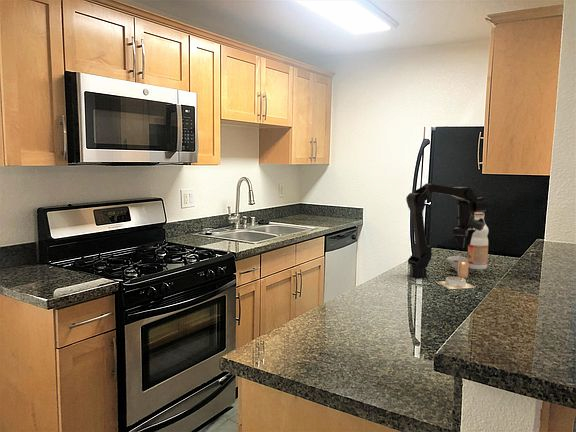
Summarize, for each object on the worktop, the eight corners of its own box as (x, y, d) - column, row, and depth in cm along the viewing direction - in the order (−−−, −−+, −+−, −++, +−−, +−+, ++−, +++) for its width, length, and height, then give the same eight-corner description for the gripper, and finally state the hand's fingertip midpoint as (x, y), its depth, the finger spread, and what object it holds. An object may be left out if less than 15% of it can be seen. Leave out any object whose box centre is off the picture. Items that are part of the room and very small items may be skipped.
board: (449, 291, 191) (449, 289, 191) (435, 283, 203) (435, 281, 203) (476, 290, 193) (476, 287, 193) (461, 282, 205) (461, 280, 205)
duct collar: (451, 287, 194) (451, 281, 193) (442, 282, 201) (443, 277, 201) (468, 286, 195) (468, 280, 194) (459, 281, 202) (459, 276, 202)
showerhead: (469, 255, 229) (466, 258, 220) (468, 269, 230) (466, 273, 221) (449, 253, 234) (446, 257, 225) (448, 267, 234) (445, 271, 226)
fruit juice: (481, 270, 227) (483, 214, 224) (463, 267, 234) (465, 212, 231) (490, 267, 233) (493, 212, 230) (473, 264, 240) (475, 211, 237)
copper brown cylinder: (460, 280, 209) (461, 263, 208) (455, 278, 213) (456, 261, 212) (469, 280, 209) (470, 262, 208) (464, 277, 214) (465, 260, 213)
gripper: (476, 217, 203) (476, 252, 205) (488, 211, 217) (489, 243, 219) (450, 216, 210) (451, 250, 212) (464, 210, 224) (465, 242, 226)
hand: (465, 246), depth 217 cm, fingers open, 9 cm apart
